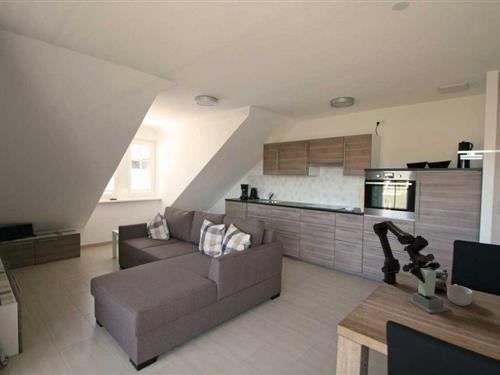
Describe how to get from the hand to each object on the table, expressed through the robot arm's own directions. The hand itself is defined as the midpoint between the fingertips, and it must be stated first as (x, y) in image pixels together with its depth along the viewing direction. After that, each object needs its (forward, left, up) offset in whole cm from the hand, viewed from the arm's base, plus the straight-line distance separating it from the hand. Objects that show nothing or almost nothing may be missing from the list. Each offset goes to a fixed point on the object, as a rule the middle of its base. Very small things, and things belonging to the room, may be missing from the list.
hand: (429, 282), depth 137 cm
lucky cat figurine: (-17, +24, -14) cm, 33 cm away
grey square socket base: (-2, +2, -13) cm, 14 cm away
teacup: (-1, +22, -14) cm, 26 cm away
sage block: (-1, 0, -7) cm, 7 cm away
